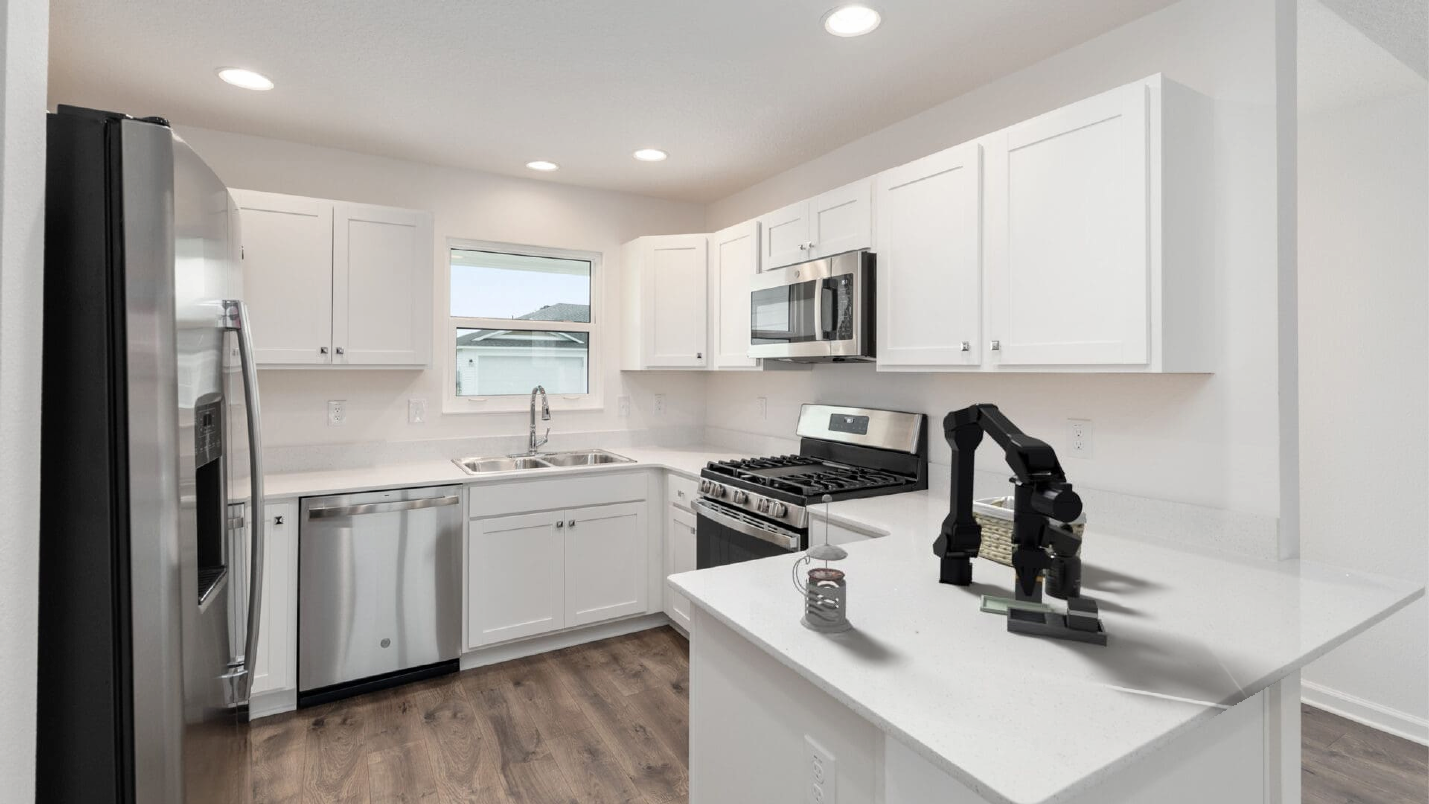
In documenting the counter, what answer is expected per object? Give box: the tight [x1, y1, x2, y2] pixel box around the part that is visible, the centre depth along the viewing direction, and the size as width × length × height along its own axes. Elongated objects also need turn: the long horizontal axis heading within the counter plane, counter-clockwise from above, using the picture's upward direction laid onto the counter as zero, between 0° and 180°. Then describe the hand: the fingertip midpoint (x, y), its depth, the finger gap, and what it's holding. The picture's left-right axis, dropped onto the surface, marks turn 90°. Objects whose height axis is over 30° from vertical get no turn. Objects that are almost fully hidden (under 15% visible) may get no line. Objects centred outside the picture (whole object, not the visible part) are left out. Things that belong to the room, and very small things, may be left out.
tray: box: [979, 594, 1052, 616], centre depth 133 cm, size 13×8×1 cm, turn 66°
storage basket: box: [973, 495, 1088, 575], centre depth 168 cm, size 24×16×15 cm
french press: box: [791, 494, 852, 634], centre depth 126 cm, size 10×12×25 cm
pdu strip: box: [1006, 606, 1108, 647], centre depth 122 cm, size 16×8×2 cm, turn 66°
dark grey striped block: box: [1014, 570, 1044, 604], centre depth 124 cm, size 5×5×6 cm
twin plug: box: [1066, 597, 1099, 632], centre depth 120 cm, size 5×5×6 cm
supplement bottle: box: [1044, 546, 1082, 601], centre depth 142 cm, size 7×7×12 cm
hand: (1027, 591), depth 124 cm, fingers closed on dark grey striped block, 4 cm apart
